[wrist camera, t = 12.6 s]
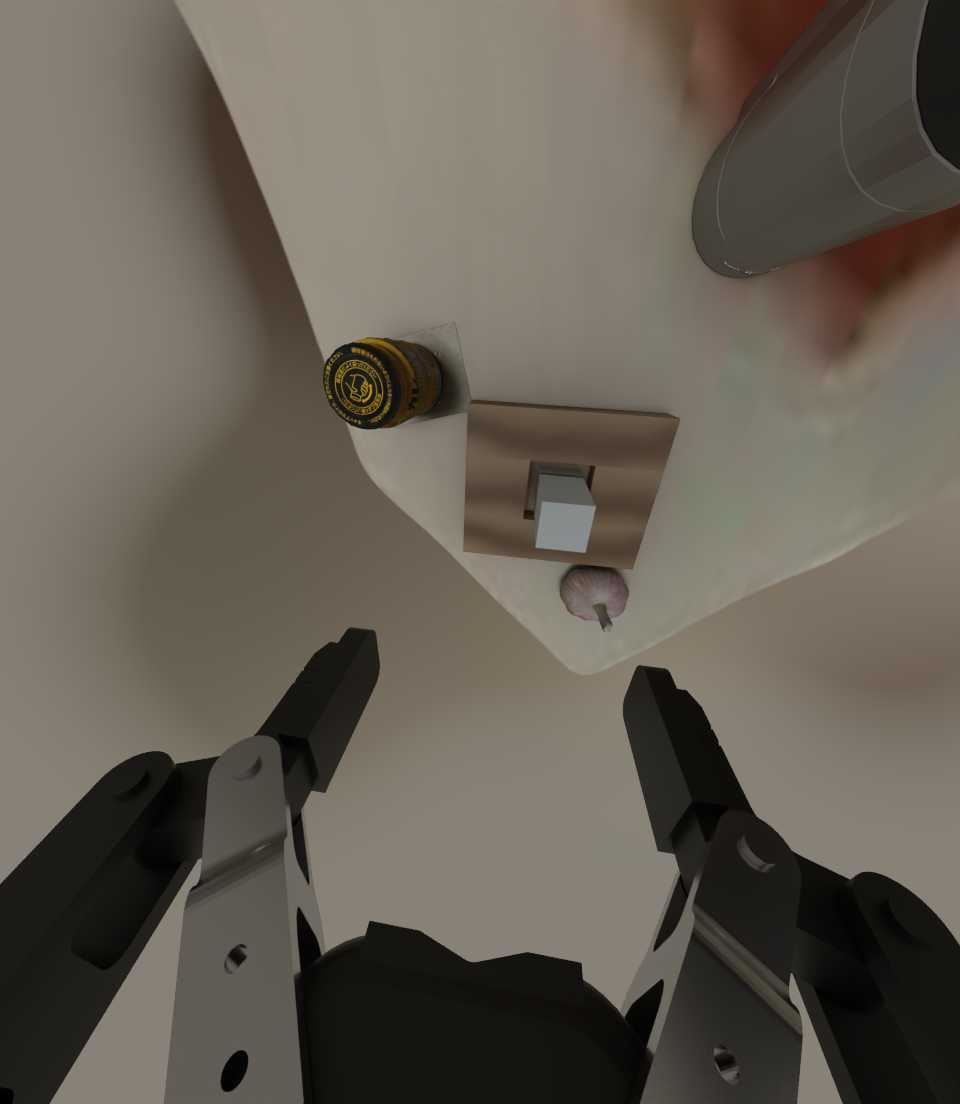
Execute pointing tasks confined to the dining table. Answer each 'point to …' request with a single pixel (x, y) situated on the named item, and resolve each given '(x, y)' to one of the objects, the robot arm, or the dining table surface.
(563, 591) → the garlic bulb
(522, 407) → the board
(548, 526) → the peg
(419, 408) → the condiment
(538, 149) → the dining table surface
